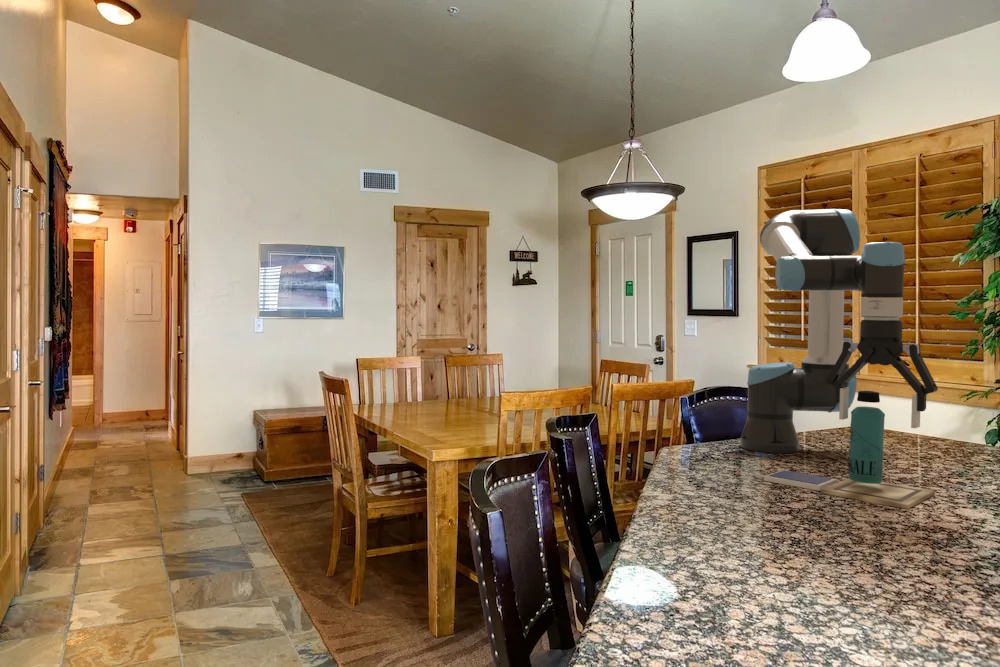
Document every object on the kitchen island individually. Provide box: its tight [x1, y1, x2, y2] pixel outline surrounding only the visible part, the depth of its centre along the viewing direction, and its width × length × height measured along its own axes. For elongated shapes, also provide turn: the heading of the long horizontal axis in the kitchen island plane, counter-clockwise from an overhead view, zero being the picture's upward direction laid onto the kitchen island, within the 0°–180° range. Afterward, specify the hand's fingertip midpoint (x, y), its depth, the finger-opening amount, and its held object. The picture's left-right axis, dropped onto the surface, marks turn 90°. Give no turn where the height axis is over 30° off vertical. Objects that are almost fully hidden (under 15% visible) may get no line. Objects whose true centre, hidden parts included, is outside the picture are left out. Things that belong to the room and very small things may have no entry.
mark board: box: [820, 477, 935, 510], centre depth 143 cm, size 16×16×1 cm
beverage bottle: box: [847, 390, 886, 484], centre depth 144 cm, size 6×7×20 cm
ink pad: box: [763, 469, 838, 492], centre depth 152 cm, size 12×9×1 cm
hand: (878, 423), depth 143 cm, fingers open, 13 cm apart
